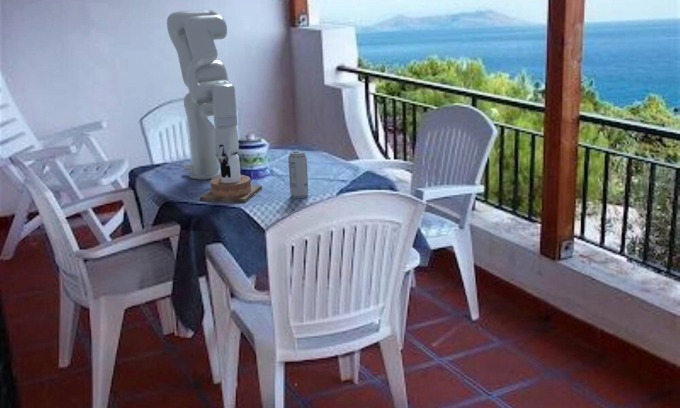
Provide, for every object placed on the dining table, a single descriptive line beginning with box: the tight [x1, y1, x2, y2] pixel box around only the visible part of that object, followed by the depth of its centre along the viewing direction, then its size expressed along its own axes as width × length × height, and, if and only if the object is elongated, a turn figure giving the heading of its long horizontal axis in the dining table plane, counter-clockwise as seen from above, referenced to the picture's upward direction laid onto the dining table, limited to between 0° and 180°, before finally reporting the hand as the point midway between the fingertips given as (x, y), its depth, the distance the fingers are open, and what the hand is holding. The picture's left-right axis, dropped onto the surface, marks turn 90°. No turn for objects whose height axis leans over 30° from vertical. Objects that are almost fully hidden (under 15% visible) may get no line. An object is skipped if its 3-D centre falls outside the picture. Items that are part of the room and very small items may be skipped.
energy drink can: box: [287, 150, 309, 199], centre depth 242 cm, size 6×6×15 cm
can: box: [219, 152, 241, 183], centre depth 245 cm, size 6×6×12 cm
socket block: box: [199, 174, 263, 203], centre depth 247 cm, size 16×16×5 cm
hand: (230, 174), depth 246 cm, fingers closed on can, 5 cm apart
